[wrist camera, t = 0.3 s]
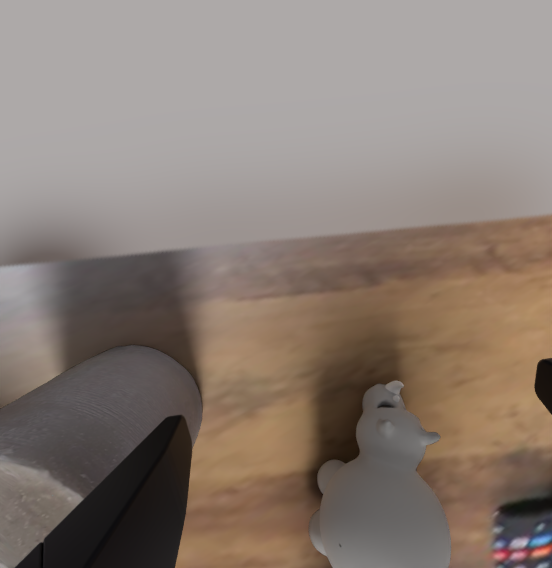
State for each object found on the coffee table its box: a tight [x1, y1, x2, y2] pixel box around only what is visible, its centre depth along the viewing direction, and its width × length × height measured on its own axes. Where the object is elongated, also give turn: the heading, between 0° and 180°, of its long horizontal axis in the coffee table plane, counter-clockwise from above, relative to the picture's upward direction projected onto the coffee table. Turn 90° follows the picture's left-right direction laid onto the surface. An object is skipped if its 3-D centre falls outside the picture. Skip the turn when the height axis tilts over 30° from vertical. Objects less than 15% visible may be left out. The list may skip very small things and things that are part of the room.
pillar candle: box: [0, 345, 202, 568], centre depth 17 cm, size 10×10×15 cm
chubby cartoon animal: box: [309, 381, 451, 568], centre depth 21 cm, size 7×12×8 cm, turn 163°
